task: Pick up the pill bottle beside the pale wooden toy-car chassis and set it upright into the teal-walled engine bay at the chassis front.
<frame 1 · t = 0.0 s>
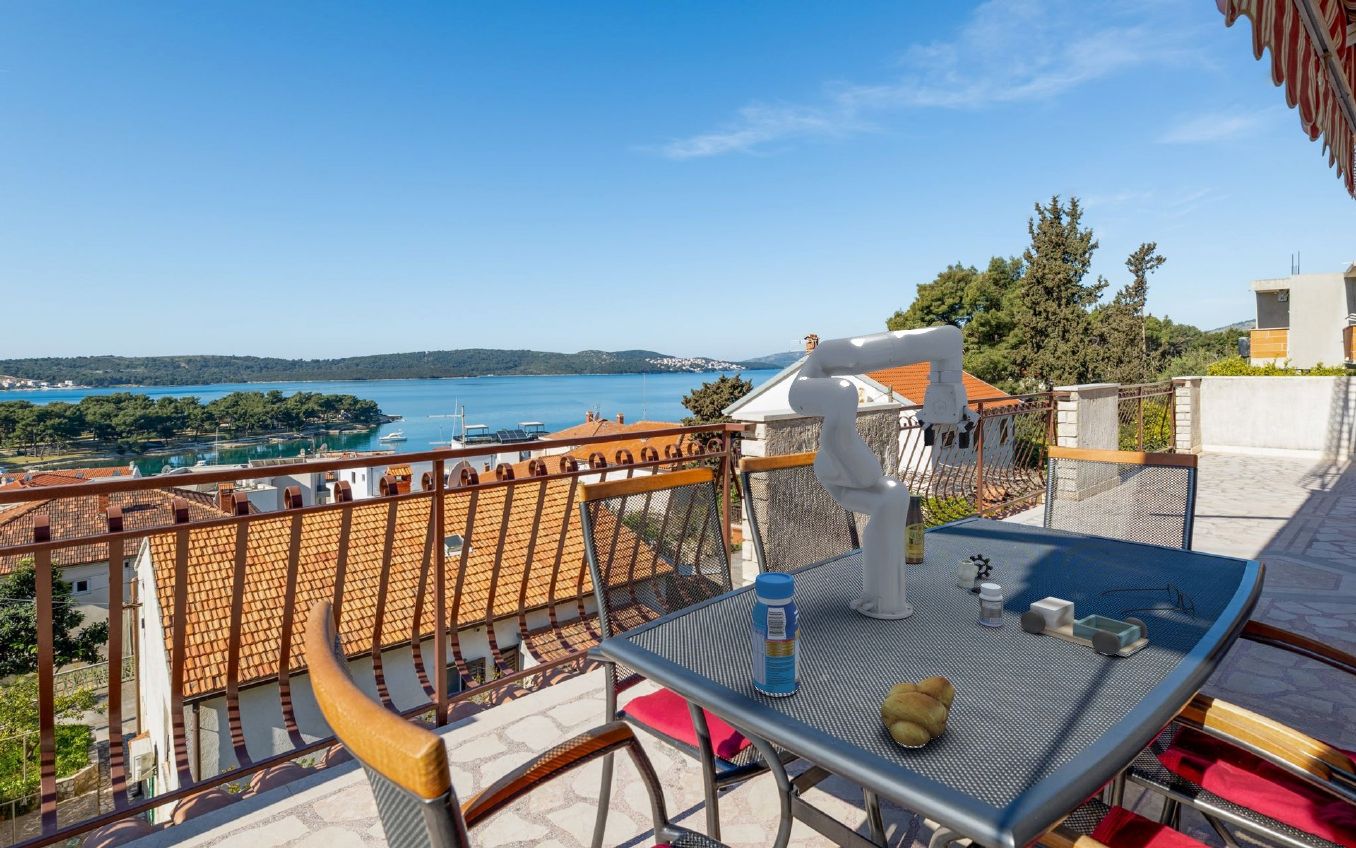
hand: (946, 447, 161), 37 cm above the table, tool pointing down, fingers open, 9 cm apart
sauce bottle: (913, 562, 191), on the table
valve: (971, 583, 169), on the table
glasses: (1144, 610, 149), on the table
toy car chassis: (1082, 636, 133), on the table
beverage bottle: (776, 689, 114), on the table
pill bottle: (990, 624, 141), on the table
bread roll: (912, 734, 98), on the table
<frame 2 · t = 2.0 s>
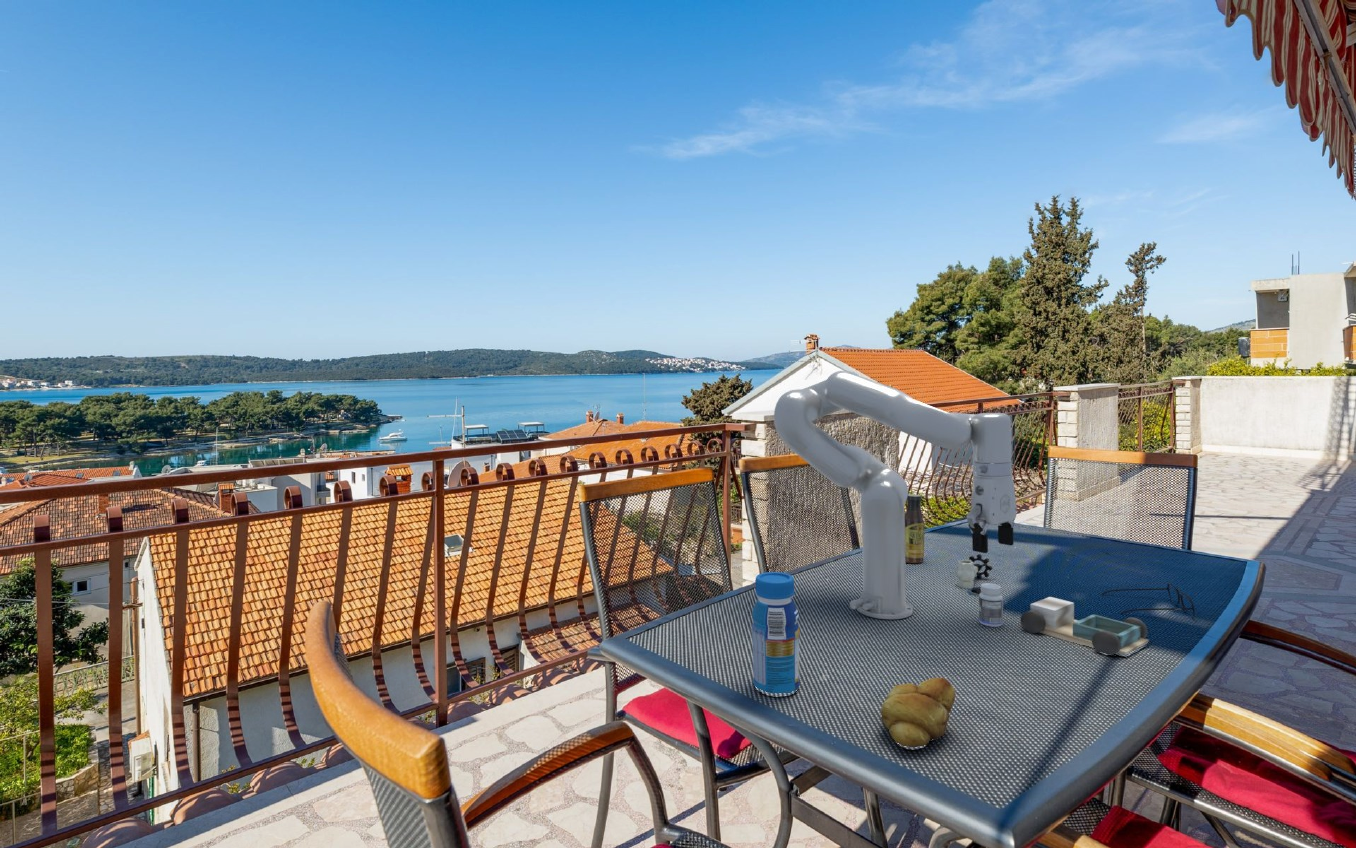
hand: (993, 548, 140), 17 cm above the table, tool pointing down, fingers open, 9 cm apart
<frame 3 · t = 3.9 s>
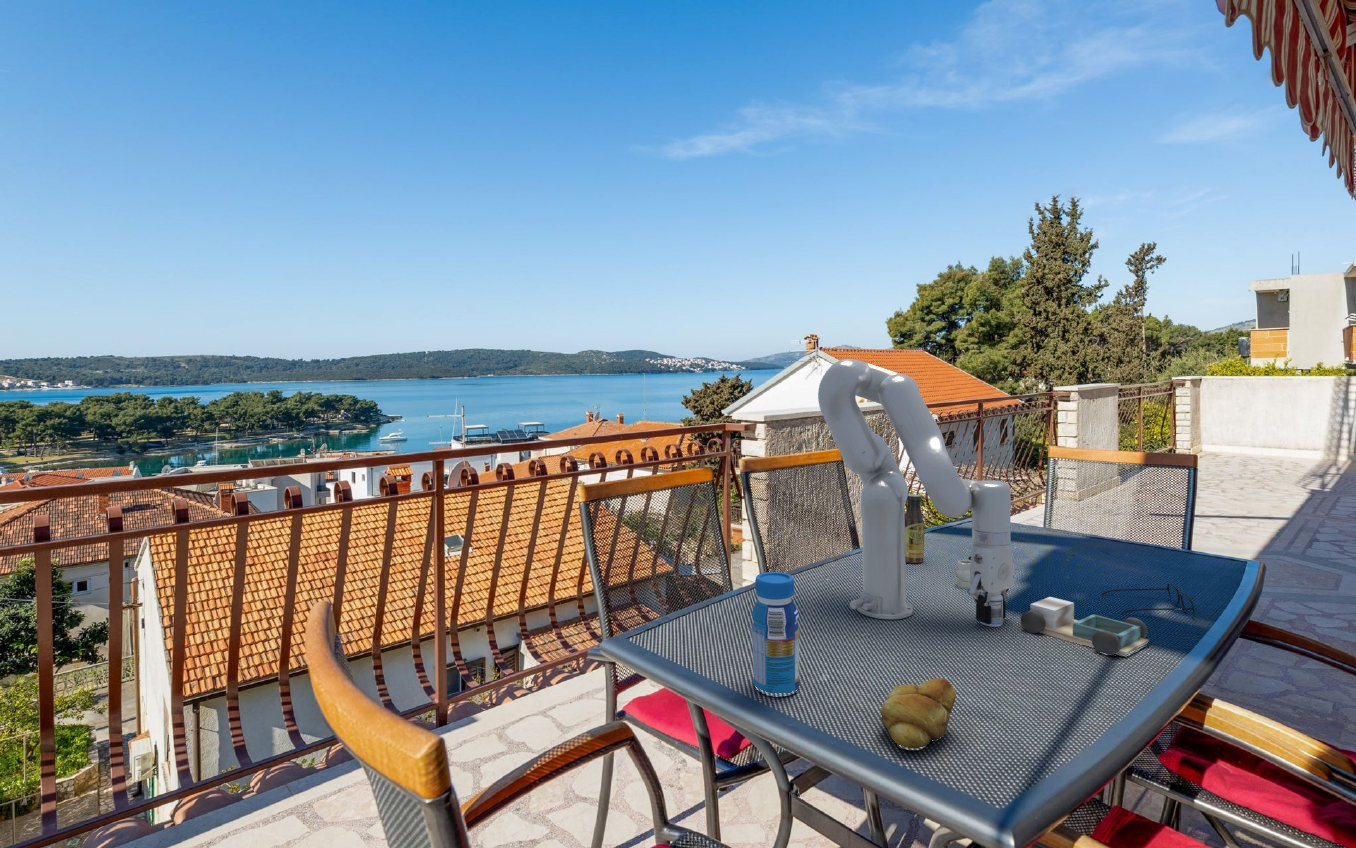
hand: (990, 618, 141), 1 cm above the table, tool pointing down, fingers closed on pill bottle, 4 cm apart
pill bottle: (990, 624, 141), on the table, touching gripper
everything else where it was.
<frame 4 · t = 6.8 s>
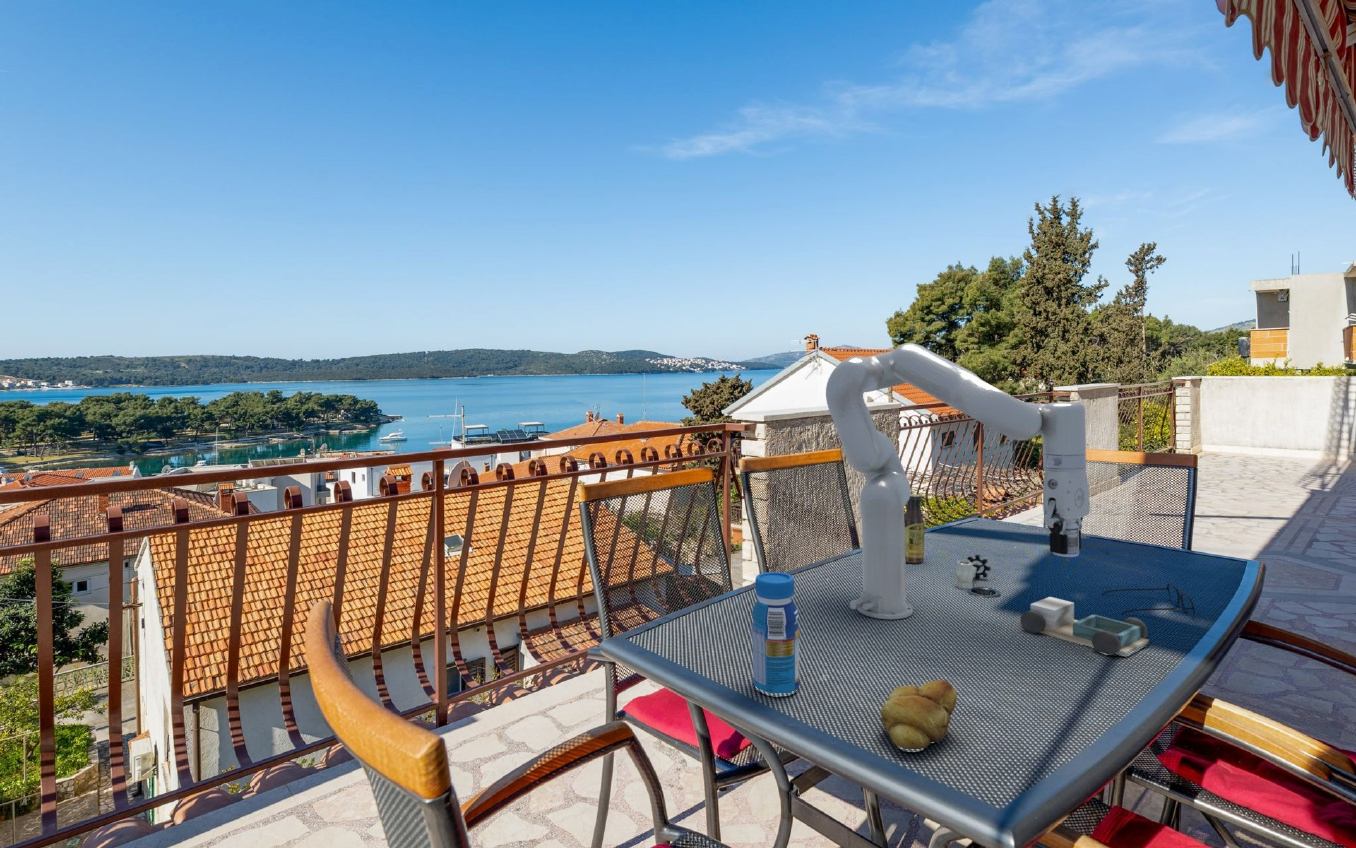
hand: (1065, 549, 132), 18 cm above the table, tool pointing down, fingers closed on pill bottle, 4 cm apart
pill bottle: (1065, 555, 132), point 17 cm above the table, touching gripper
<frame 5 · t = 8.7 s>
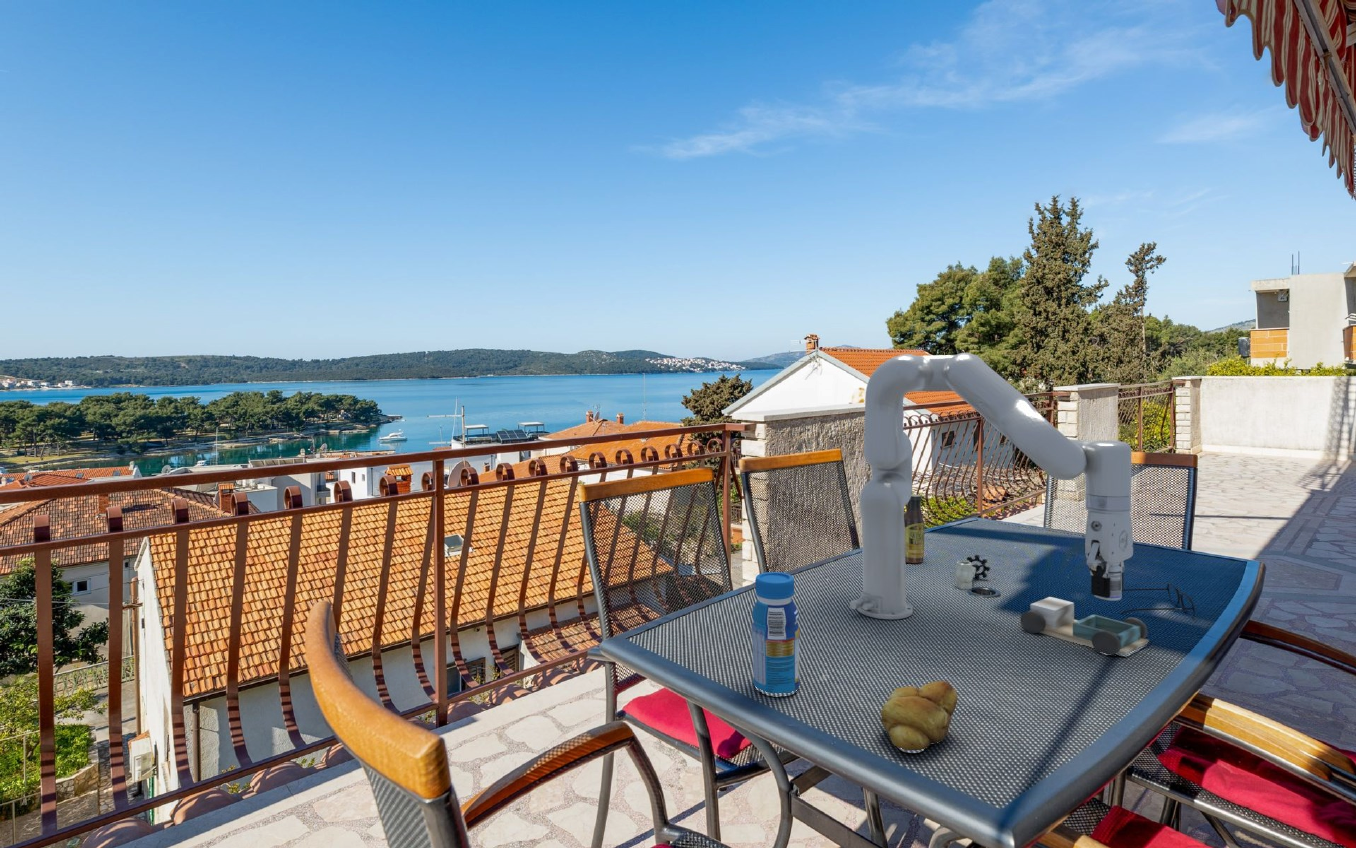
hand: (1107, 592, 128), 10 cm above the table, tool pointing down, fingers closed on pill bottle, 4 cm apart
pill bottle: (1107, 598, 128), point 9 cm above the table, touching gripper
when the fingers open (5 cm above the table, at t = 10.0 s): pill bottle drops 3 cm, resting on toy car chassis.
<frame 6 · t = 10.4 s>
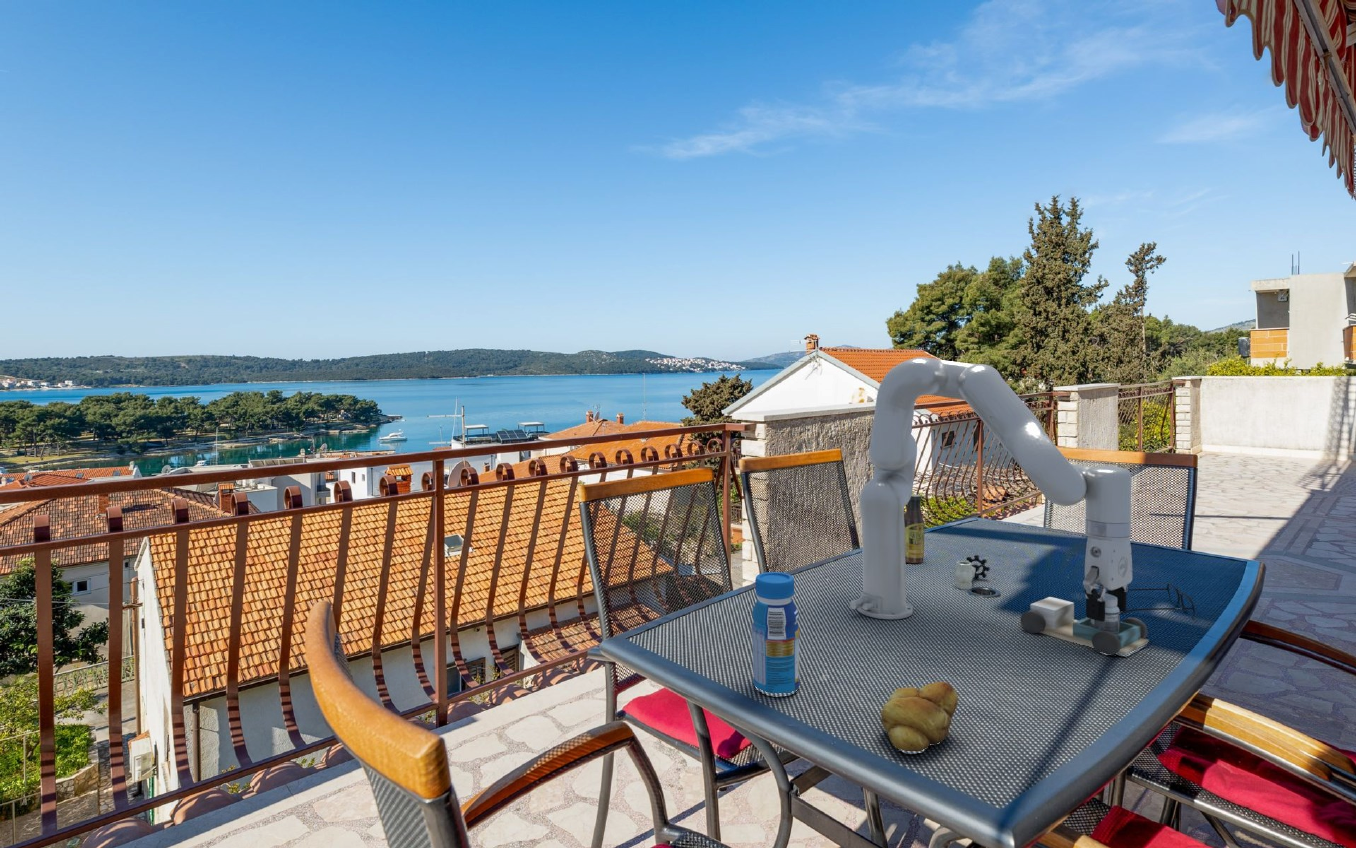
hand: (1106, 614, 129), 6 cm above the table, tool pointing down, fingers open, 8 cm apart
pill bottle: (1104, 638, 129), point 1 cm above the table, touching toy car chassis
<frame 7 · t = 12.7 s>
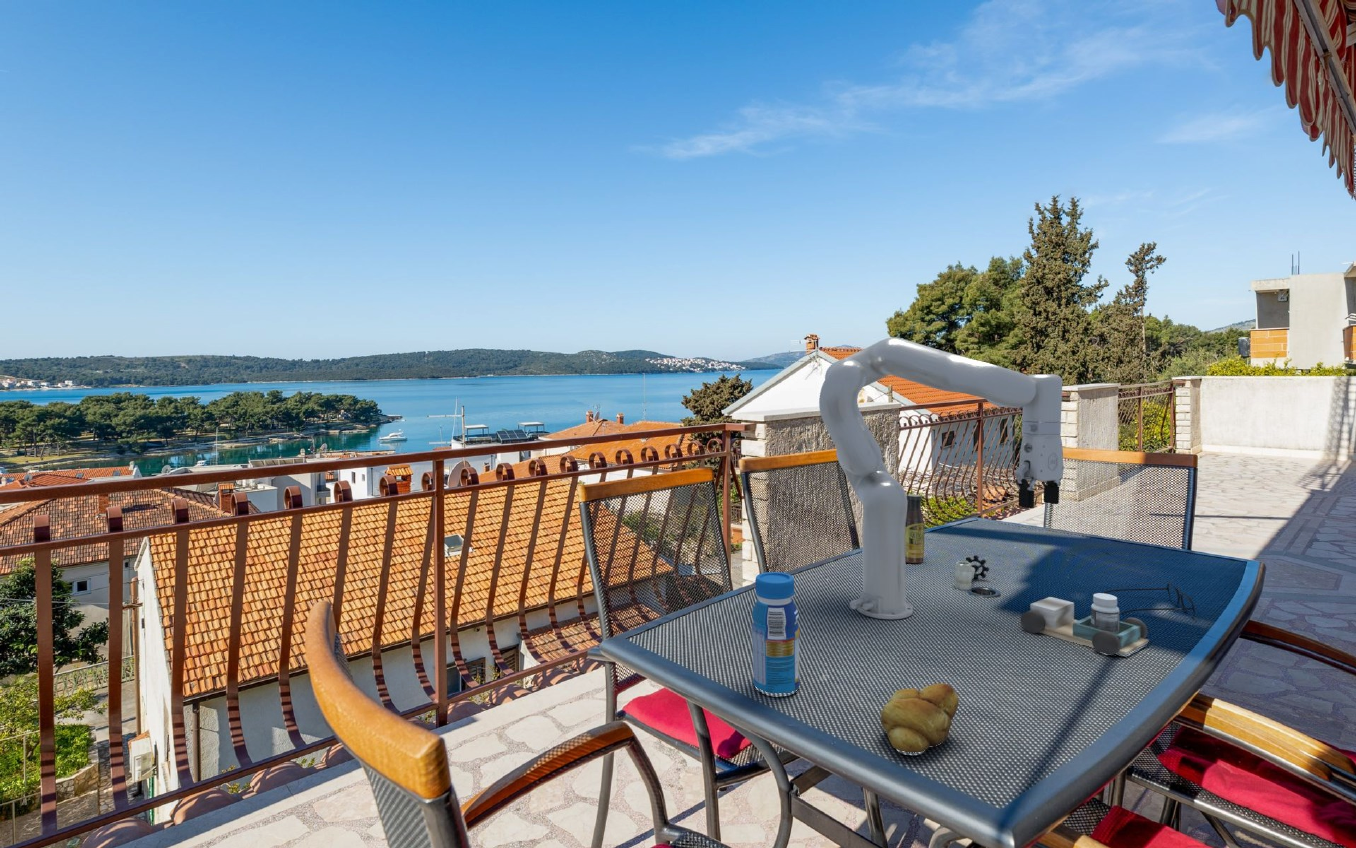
hand: (1038, 505, 145), 25 cm above the table, tool pointing down, fingers open, 9 cm apart
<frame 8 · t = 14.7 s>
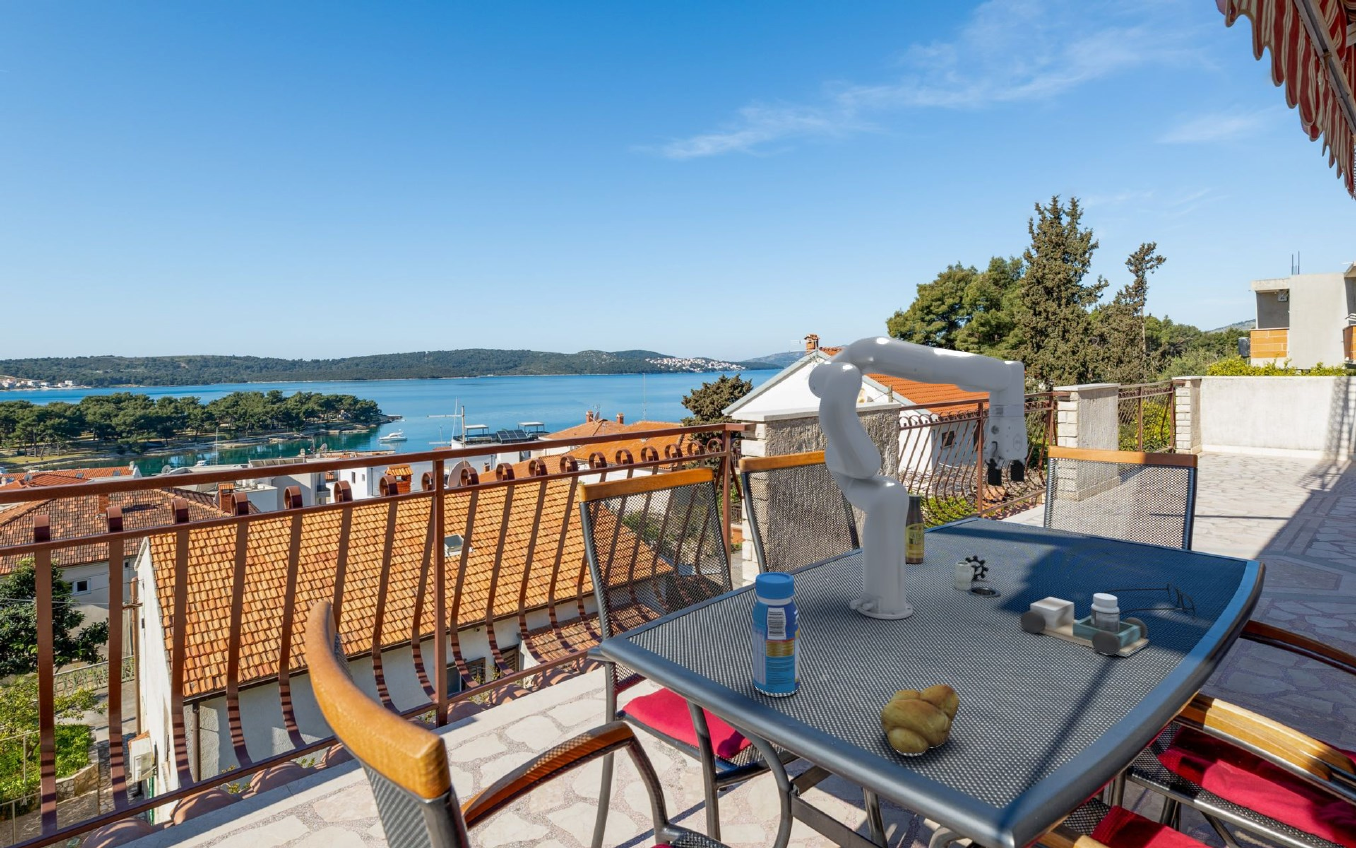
hand: (1006, 483, 155), 28 cm above the table, tool pointing down, fingers open, 9 cm apart
at the end: pill bottle 0.4 cm from the target spot on the toy car chassis, point 1.0 cm above the toy car chassis's base; pill bottle tilted 0°; the gripper is holding nothing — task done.
